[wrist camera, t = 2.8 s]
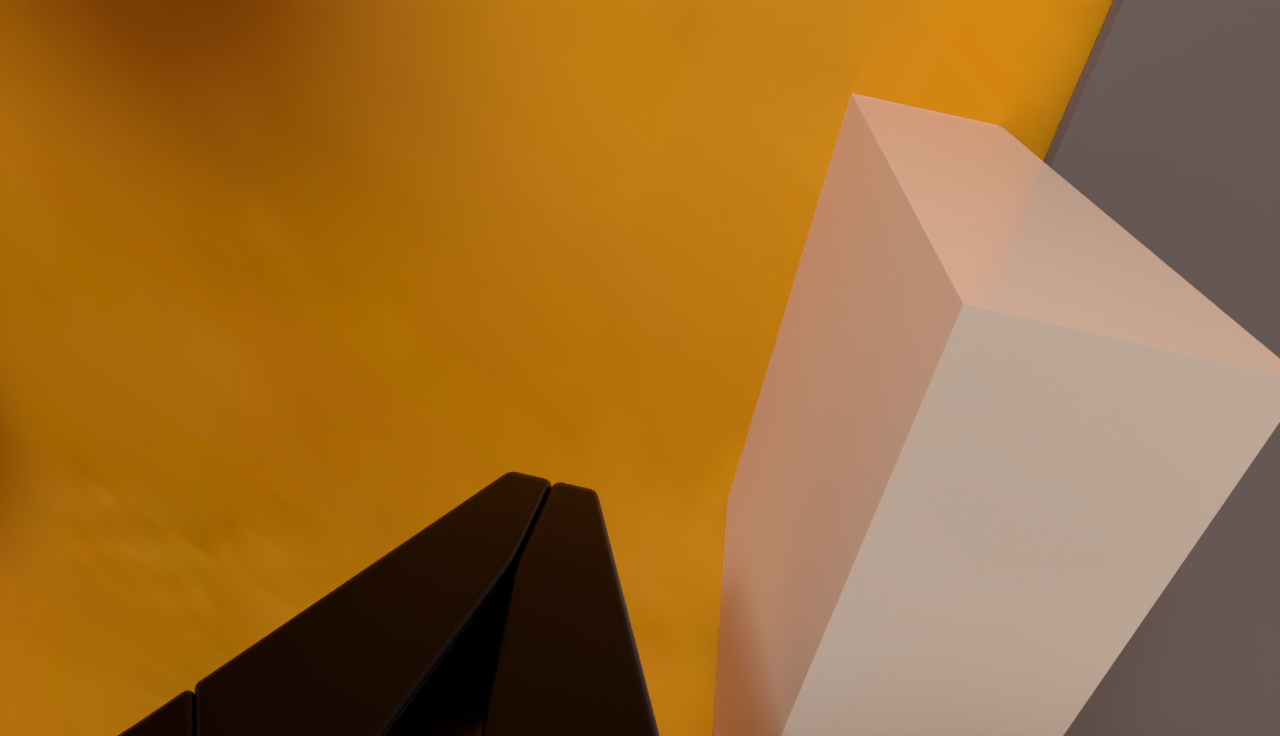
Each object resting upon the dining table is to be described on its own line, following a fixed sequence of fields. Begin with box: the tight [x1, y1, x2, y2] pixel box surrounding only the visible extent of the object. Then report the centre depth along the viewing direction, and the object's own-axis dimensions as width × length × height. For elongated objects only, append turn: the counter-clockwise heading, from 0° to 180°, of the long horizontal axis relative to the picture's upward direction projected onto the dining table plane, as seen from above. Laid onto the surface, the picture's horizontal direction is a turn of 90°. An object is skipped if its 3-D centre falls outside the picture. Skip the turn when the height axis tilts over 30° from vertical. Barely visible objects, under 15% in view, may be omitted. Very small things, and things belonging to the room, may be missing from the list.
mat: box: [1043, 0, 1280, 736], centre depth 12 cm, size 14×9×1 cm, turn 169°
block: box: [712, 93, 1280, 736], centre depth 9 cm, size 7×2×7 cm, turn 169°
